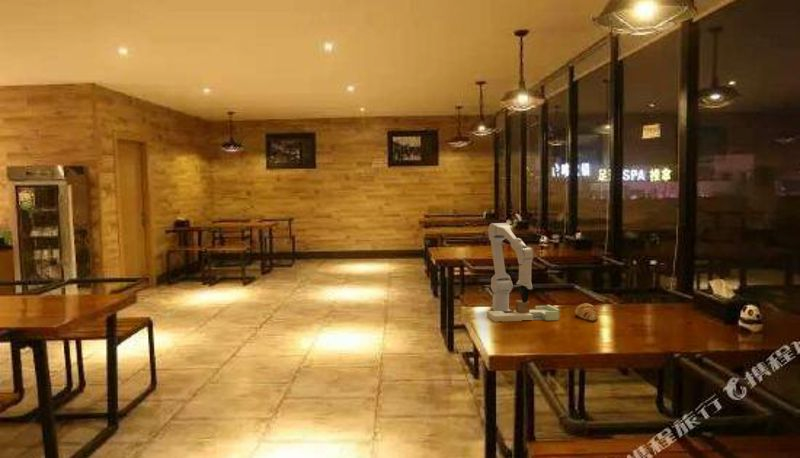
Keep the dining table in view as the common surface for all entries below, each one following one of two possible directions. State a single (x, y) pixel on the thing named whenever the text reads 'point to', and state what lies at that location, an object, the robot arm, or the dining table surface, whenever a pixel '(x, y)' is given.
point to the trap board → (526, 314)
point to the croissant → (586, 312)
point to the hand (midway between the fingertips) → (524, 301)
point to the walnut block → (522, 306)
